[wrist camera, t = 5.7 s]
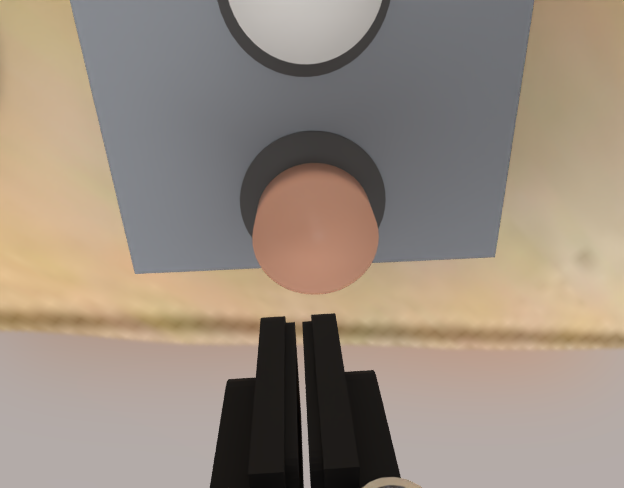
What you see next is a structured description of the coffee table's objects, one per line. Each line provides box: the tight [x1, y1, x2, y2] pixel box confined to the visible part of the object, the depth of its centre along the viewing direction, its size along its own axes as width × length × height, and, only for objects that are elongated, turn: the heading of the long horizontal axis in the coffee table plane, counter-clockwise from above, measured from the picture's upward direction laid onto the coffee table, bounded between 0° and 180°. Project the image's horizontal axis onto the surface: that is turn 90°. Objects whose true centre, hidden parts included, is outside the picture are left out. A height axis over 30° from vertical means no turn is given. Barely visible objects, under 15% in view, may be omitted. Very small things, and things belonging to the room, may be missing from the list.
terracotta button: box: [252, 163, 379, 294], centre depth 17 cm, size 4×4×2 cm
